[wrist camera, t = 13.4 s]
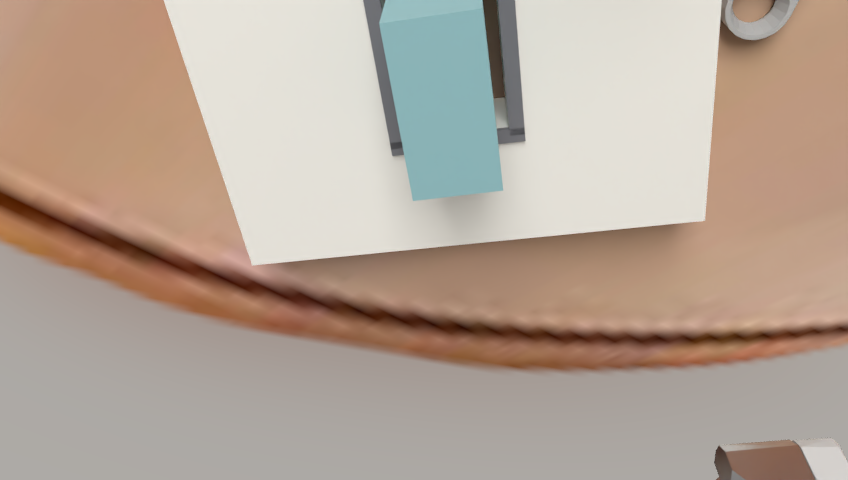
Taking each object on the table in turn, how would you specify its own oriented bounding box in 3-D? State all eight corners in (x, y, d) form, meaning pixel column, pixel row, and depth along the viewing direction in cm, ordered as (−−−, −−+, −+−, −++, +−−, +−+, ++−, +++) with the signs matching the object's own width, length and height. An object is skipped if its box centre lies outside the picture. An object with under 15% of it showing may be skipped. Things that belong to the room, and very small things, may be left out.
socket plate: (714, -291, 24) (746, -295, 22) (686, 185, 34) (706, 223, 31) (135, -192, 26) (99, -184, 24) (266, 229, 36) (251, 268, 34)
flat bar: (475, -62, 28) (482, 8, 21) (492, 85, 32) (503, 190, 24) (399, -50, 29) (378, 23, 21) (423, 94, 32) (412, 201, 25)
